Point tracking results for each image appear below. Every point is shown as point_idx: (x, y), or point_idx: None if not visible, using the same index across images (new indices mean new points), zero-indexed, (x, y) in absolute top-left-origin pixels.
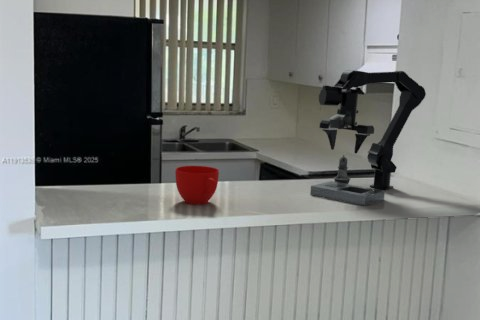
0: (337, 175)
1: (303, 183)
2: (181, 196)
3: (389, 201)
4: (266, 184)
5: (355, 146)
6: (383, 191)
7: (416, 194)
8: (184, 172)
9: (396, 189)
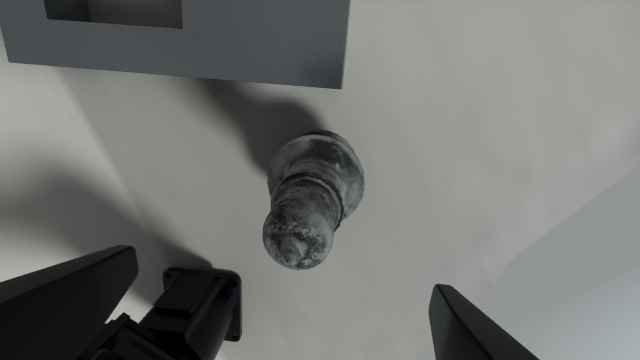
0: (337, 171)
1: (531, 130)
2: None
3: None
4: None
5: (39, 282)
6: (8, 49)
7: None
8: None
9: (150, 307)
